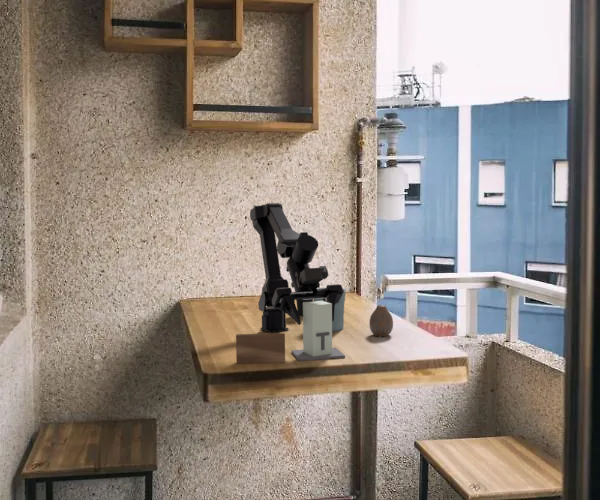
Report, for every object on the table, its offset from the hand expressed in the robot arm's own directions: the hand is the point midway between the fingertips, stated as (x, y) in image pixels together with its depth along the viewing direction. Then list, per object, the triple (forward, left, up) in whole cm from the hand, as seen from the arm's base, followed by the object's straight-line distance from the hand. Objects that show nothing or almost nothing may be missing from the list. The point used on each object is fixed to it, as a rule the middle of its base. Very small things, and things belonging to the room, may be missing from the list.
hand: (316, 322), depth 173 cm
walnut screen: (+16, -2, -8) cm, 18 cm away
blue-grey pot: (-23, -24, -9) cm, 34 cm away
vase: (-29, -7, -9) cm, 31 cm away
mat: (0, +1, -8) cm, 8 cm away
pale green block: (0, +1, -8) cm, 8 cm away
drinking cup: (-30, -47, -9) cm, 57 cm away
